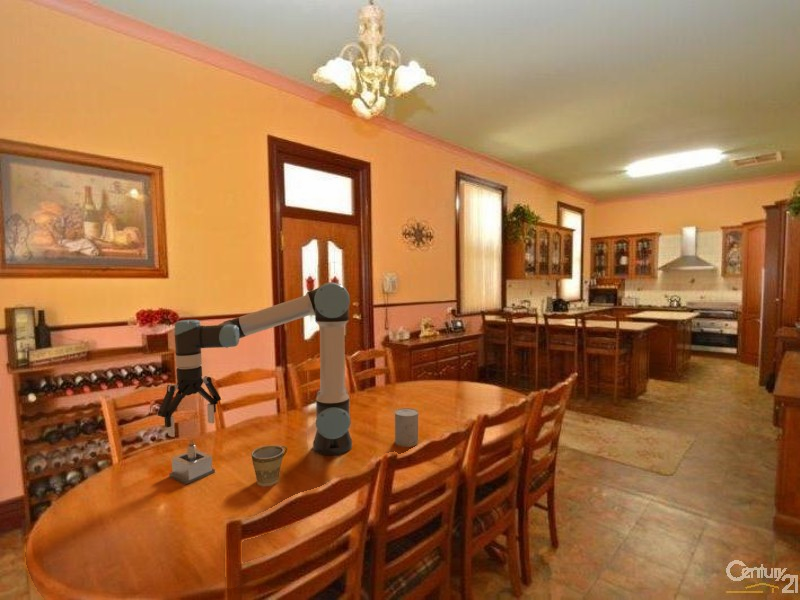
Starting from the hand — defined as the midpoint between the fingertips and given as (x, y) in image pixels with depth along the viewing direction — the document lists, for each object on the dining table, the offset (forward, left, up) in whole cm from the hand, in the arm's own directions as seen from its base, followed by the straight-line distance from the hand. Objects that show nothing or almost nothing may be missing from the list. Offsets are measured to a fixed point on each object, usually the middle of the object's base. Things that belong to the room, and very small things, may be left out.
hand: (192, 429), depth 134 cm
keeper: (0, 0, -16) cm, 16 cm away
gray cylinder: (-46, -62, -16) cm, 79 cm away
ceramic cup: (-25, -12, -16) cm, 32 cm away
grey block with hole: (0, 0, -15) cm, 15 cm away
